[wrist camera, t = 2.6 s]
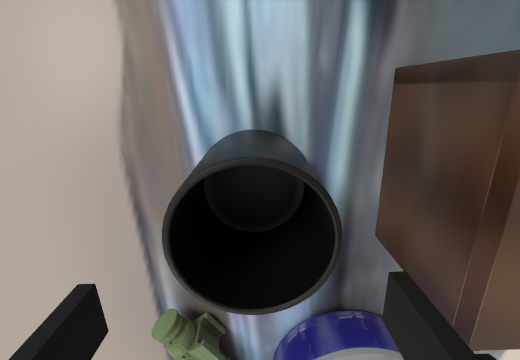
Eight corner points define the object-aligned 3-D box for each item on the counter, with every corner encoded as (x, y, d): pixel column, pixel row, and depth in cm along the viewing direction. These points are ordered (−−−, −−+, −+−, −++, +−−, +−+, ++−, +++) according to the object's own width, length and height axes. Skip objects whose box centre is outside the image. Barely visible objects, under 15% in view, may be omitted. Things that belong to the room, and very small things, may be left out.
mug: (189, 249, 24) (152, 337, 16) (205, 118, 20) (167, 140, 12) (289, 265, 25) (306, 357, 16) (323, 140, 21) (368, 177, 13)
